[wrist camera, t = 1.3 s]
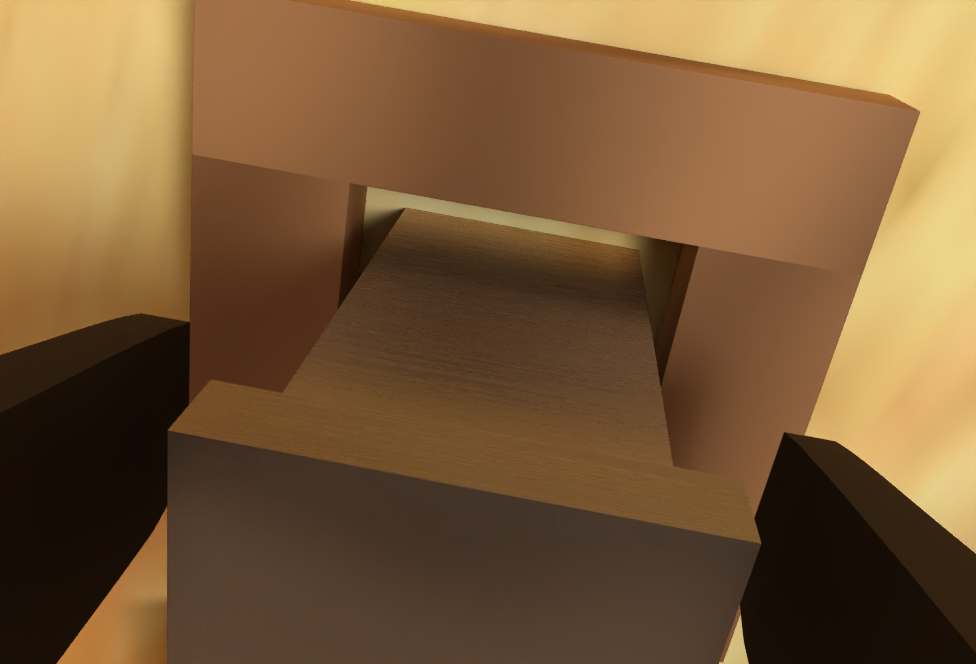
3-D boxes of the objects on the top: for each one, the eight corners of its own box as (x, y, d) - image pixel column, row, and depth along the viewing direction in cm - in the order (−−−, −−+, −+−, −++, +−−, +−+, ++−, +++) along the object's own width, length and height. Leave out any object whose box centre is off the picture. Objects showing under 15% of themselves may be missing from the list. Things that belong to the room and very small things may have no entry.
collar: (889, 95, 12) (920, 111, 11) (713, 611, 16) (723, 662, 14) (229, -21, 12) (194, -16, 11) (214, 515, 16) (186, 558, 15)
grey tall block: (672, 229, 13) (760, 543, 6) (609, 474, 15) (627, 919, 8) (382, 176, 13) (167, 429, 6) (355, 426, 15) (166, 825, 8)
